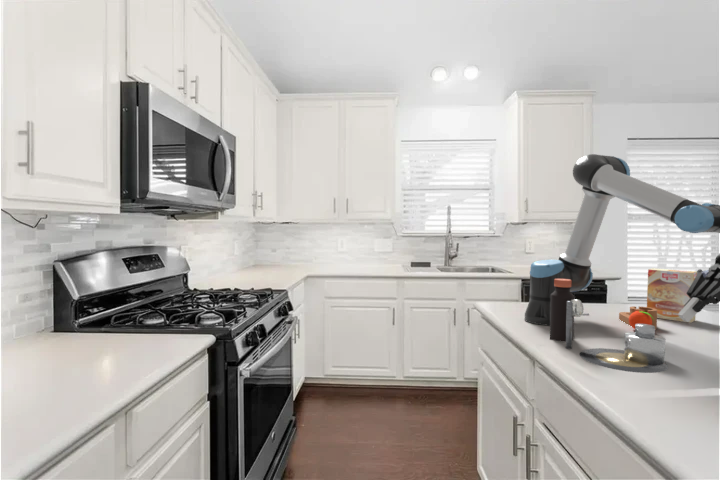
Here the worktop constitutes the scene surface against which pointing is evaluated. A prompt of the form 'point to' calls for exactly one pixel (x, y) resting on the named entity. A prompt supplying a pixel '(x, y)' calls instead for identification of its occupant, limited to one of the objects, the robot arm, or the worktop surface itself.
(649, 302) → the coffeecake box
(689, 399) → the worktop surface
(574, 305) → the dial gauge stand
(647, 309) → the bracket
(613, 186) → the robot arm
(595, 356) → the grey plate
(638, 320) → the clementine
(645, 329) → the cover
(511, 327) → the worktop surface
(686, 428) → the worktop surface
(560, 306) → the bottle
